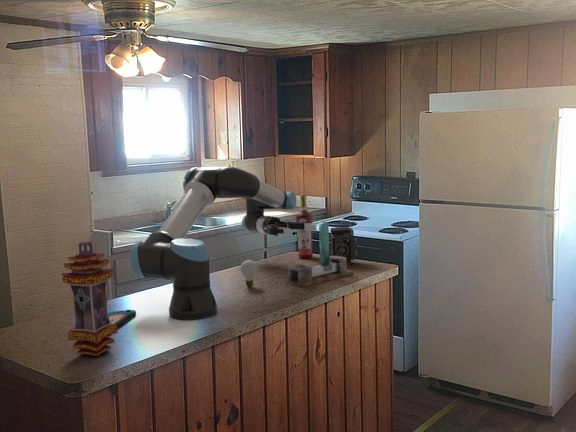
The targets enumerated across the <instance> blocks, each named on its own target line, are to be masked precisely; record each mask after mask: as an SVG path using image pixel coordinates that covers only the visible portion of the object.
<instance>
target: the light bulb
mask: <svg viewBox="0 0 576 432" xmlns="http://www.w3.org/2000/svg"><path fill="white" fill-rule="evenodd" d="M257 270H258V266H257V264H256V262H254V261H253V260H251V259H246V260H245V261H243V262H242V263H241V265H240V272H241V273H242V275H243V276H244V277H243V278H244V280H245V285H246V286H247V287H248V288H251V287H252V286H253V285H254V279H255V278H254V277H255V275H256V273H257Z"/></svg>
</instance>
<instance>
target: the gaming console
mask: <svg viewBox="0 0 576 432" xmlns="http://www.w3.org/2000/svg"><path fill="white" fill-rule="evenodd" d="M107 313H108V317H109V320H110V322H111V323H112V324H116V325H117V329H118V328H120V327H121V326H123V325H124V324H126V322H128V321H130V320H131V319H132V318H135V317H136V315H137V311H136V310H135V309H126V310H115V311H113V310H112V311H109V312H107Z"/></svg>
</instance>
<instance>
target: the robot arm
mask: <svg viewBox="0 0 576 432" xmlns="http://www.w3.org/2000/svg"><path fill="white" fill-rule="evenodd" d="M183 179H184V181H183V183H182V185H183V186H182V187H183V192H184V195H182V197H181V198H180V200H179V202H178V203H177V204H176V205H175V207H174V208H173V209H172V211H171V213H170V214H169V215H168V217H167V218H166V220H165V221H164V223H163V224H162V225H161V227H160V228H159V229H158V231H154V232H152V233H150V234H149V236H148V237H147V238H146V240H145V241H142V240H141V241H138V242H137V241H136V242H134V244H132V246H131V248H130V250H129V251H130V252H129V258H128V259H129V265H130V269H131V271H132V273H133V275H135V276H136V277H138V278H142V279H143V278H144V279H146V280H147V279H152V280H167V281H169V280H170V281H172V289H173V290H172V291H173V292H172V295H171V300H170V302H169V303H170V304H169V307H168V311H169V312H168V315H169V317H170V318H172V319H175V320H180V321H181V320H183V321H184V320H187V321H188V320H189V321H193V320H199V319H200V320H201V319H206V318H209V317H212V316H214V315H216V314H217V313H218V304H217V301H216V299H215V296H214V293H213V291H212V289H211V275H210V254H209V248H208V244H206V242H204V241H203V240H201V239H196V238H186V236H187V235H188V234H189V231H191V229H192V227H193V226H194V225H195V224H196V221H197V220H198V218H199V217H200V215H201V214H202V213H203V210H204V209H206V208H209V207H211V206H212V205H213V203H214V202H215V200H216V199H245V206H246V207H245V209H246V213H245V214H244V216H242V217H243V218H242V220H241V225H242V228H243V229H244V230H245V231H248V232H251V233H258V234H264V235H265V236H267V235H271V236H276V237H278V236H279V235H282V236H291V234H292V233H291V230H297V229H304V230H308V231H312V232H317V226H318V225H317V223H316V224H315V223H312V224H309V222H307V221H306V222H296V221H282V220H281V219H280V217H278V216H271V215H265V211H264V210H282V211H283V210H285V211H287V210H294V209H295V207H296V205H297V196H296V193H295V192H294V191H288V190H286V191H284V190H281V189H279V188H276V187H275V186H272V185H270V184H268V183H266V182H264V181H261V180H260V179H259V177H258V176H257V175H255V174H253V173H251V172H249V171H246V170H245V169H244V170H243V169H241V168H238V167H233V166H203V165H202V166H196V167H194V166H193V167H191V168H190V169H189V170H188V171H187V172H186V173H185V175H184V178H183Z"/></svg>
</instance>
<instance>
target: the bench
mask: <svg viewBox="0 0 576 432" xmlns="http://www.w3.org/2000/svg"><path fill="white" fill-rule="evenodd" d="M329 256H330V262H334V261H339V271H336V272H332V273H328V274H324V275H320V276H316V277H312V266H309V265H305V264H296V265H292V266H288V267H287V272H288V279H286V284H290V285H294V286H298V287H301V288H303V287H307V286H311V285H315V284H319V283H323V282H327V281H330V280H335V279H338V278H343V277H347V276H349V275H353V274H354V273H353V272H354V271H353V270H348V264H347V258H346V257H340V256H331V255H329Z"/></svg>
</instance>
